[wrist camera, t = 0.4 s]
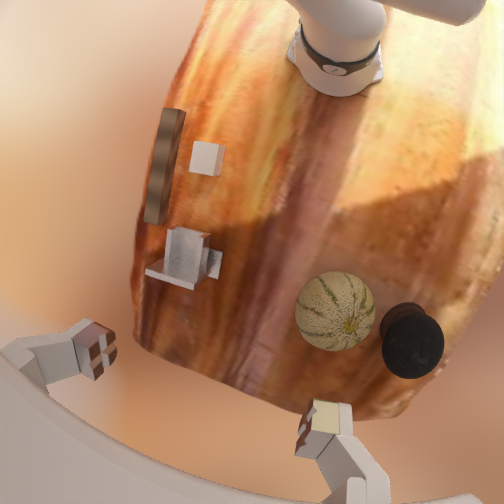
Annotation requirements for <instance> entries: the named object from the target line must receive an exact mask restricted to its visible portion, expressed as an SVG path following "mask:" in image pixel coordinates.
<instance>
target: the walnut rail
mask: <svg viewBox="0 0 504 504" xmlns="http://www.w3.org/2000/svg"><path fill="white" fill-rule="evenodd" d="M185 116H186V112H184V111H182V110H179V109H171V108H163V111H162V116H161V120H160V125H159V129H158V134H157V139H156V144H155V149H154V154H153V160H152V166H151V171H150V178H149V184H148V191H147V198H146V205H145V213H144V222H146V223H149V224H153V225H156V226H158V225H160V224H163V223H165V222H166V217H167V210H168V204H169V197H170V191H171V185H172V179H173V174H174V168H175V163H176V158H177V153H178V148H179V143H180V138H181V133H182V129H183V124H184V120H185Z"/></svg>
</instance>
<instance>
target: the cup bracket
mask: <svg viewBox="0 0 504 504" xmlns="http://www.w3.org/2000/svg"><path fill="white" fill-rule="evenodd" d="M210 238H211V233H207V232H204V231H200V230H196V229H192V228H188V227H184V226H180V225H175V226H173V227H171V228H168V230H167V239H166V249H165V257H164V258H162V259H160V260H159V261H157V262H155V263H154V264H152V265H150V266H149V267H147V268H146V271H145V274H146V275H149V276H151V277H154V278H157V279H160V280H163V281H166V282H169V283H172V284H175V285H178V286H181V287H184V288H188V289H191V290H194V289H195V288H196V287H197V286H198V285H199V284H200V283H201V282H202V281H203V280H204V279H205V278H206V277H207V276H209V277H212V278H216V279H218V278H219V275H220V269H221V263H222V258H223V252H224V251H220V250H216V249H212V248H209V245H210Z"/></svg>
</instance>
